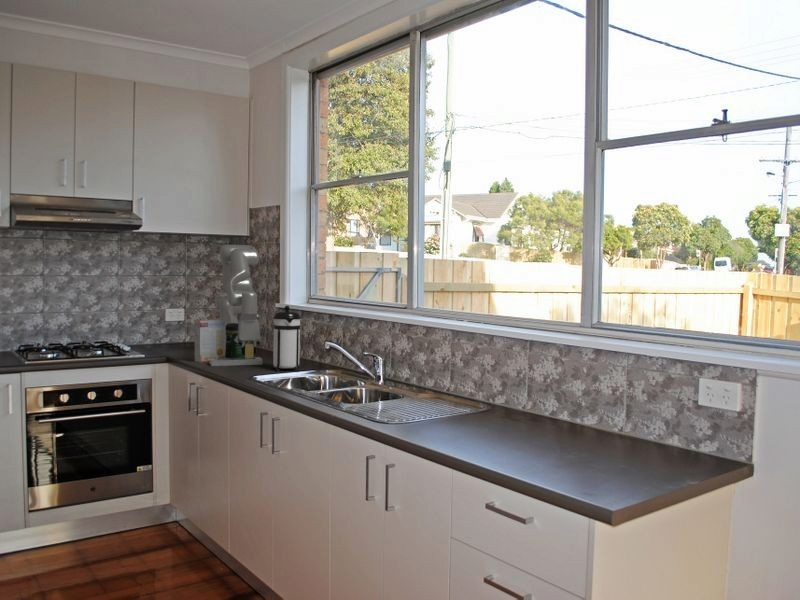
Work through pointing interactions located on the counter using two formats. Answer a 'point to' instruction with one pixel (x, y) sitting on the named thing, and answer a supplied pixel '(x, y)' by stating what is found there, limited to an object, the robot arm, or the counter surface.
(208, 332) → the cracker box
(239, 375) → the counter surface
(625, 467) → the counter surface
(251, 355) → the brass post
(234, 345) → the coffee jar
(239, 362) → the rail
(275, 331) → the coffee press
